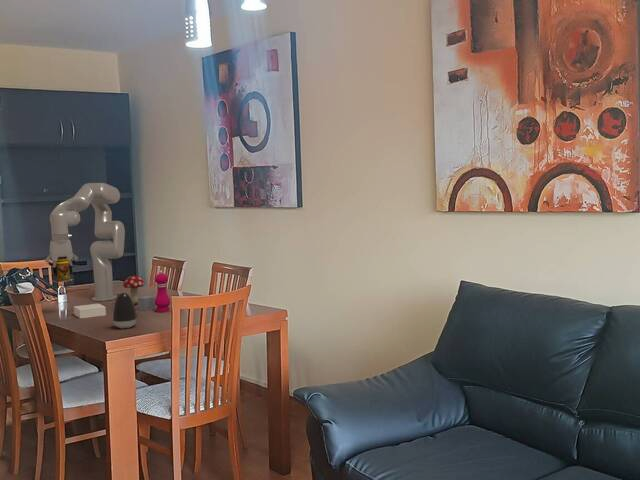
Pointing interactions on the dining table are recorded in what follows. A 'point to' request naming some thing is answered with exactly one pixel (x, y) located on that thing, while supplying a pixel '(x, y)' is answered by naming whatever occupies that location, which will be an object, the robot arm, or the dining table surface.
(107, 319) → the dining table surface
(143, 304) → the slate cube
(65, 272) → the condiment
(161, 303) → the pepper mill
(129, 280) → the decorative mushroom
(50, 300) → the dining table surface
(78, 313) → the cream block
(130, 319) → the dark grey domed cylinder
